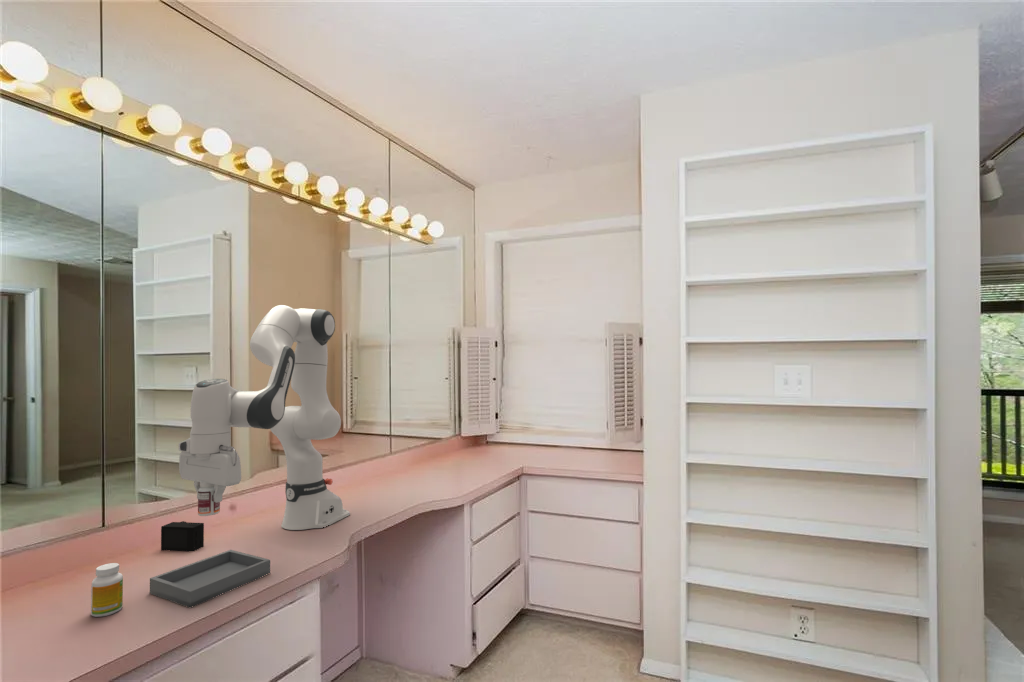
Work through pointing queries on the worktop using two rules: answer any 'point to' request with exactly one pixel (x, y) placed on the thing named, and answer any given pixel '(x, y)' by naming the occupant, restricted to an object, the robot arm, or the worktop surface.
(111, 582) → the supplement bottle
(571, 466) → the worktop surface
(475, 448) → the worktop surface
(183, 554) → the worktop surface
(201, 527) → the digital camera
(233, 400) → the robot arm
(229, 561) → the tray
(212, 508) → the pill bottle
